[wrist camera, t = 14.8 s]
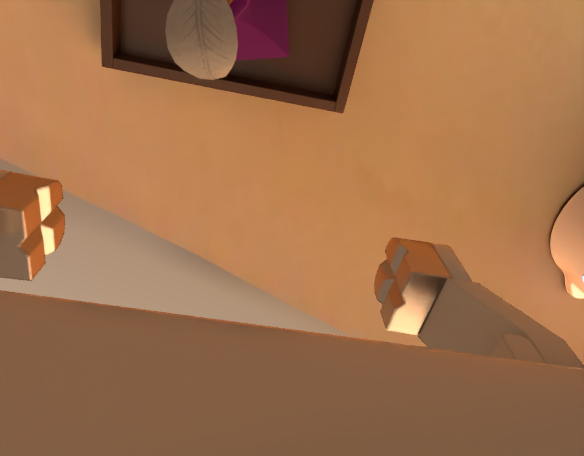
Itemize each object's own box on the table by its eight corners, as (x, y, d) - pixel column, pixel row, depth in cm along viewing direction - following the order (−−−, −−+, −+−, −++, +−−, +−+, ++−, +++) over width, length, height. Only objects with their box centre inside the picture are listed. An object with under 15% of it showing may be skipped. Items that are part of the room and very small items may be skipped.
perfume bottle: (173, -60, 29) (67, -89, 14) (281, -67, 29) (294, -103, 14) (192, 55, 33) (126, 131, 18) (288, 49, 33) (303, 120, 18)
